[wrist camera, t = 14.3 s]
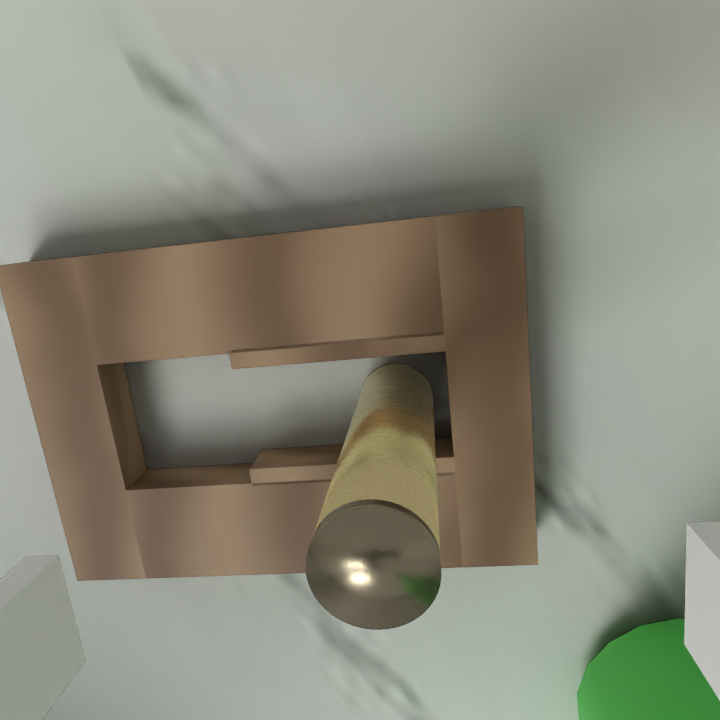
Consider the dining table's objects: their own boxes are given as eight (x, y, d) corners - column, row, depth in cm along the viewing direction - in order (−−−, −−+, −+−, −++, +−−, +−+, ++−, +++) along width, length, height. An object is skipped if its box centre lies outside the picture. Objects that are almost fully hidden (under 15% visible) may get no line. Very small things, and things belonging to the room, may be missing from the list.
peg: (360, 430, 25) (306, 623, 13) (361, 362, 24) (304, 506, 13) (431, 433, 25) (437, 634, 13) (434, 365, 24) (444, 515, 12)
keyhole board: (101, 554, 28) (77, 580, 26) (28, 261, 25) (-6, 266, 23) (529, 537, 25) (538, 564, 23) (514, 206, 22) (523, 206, 20)
